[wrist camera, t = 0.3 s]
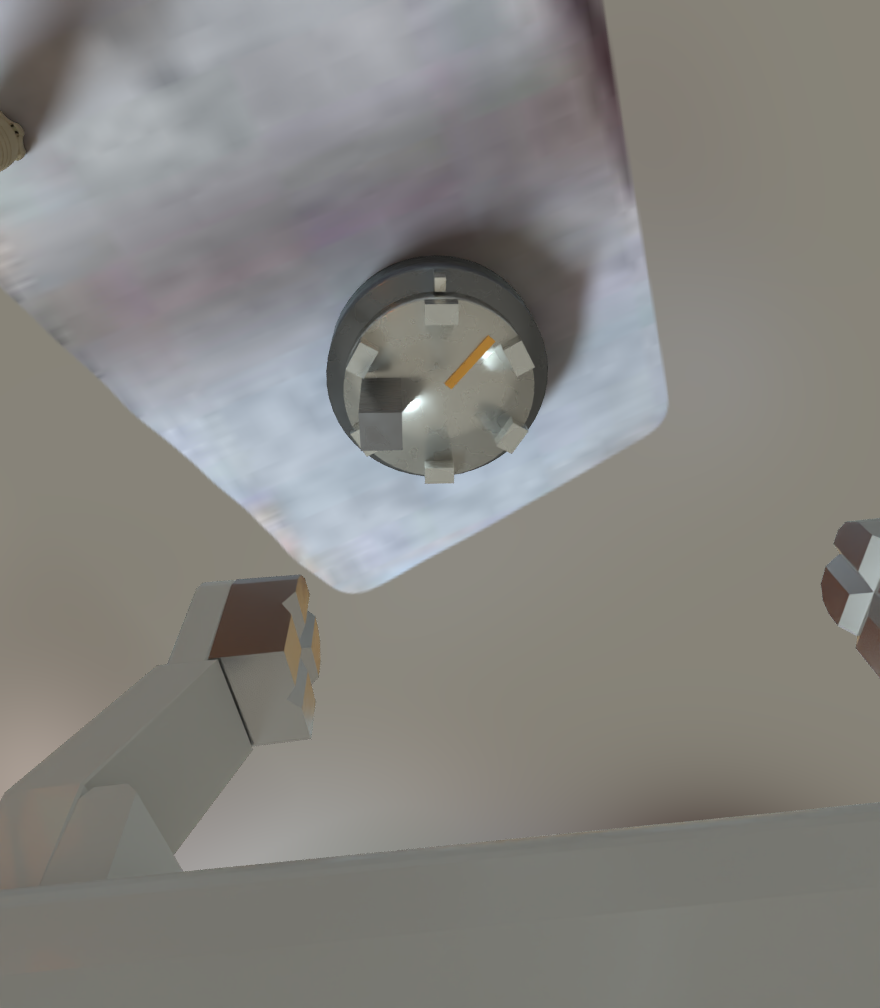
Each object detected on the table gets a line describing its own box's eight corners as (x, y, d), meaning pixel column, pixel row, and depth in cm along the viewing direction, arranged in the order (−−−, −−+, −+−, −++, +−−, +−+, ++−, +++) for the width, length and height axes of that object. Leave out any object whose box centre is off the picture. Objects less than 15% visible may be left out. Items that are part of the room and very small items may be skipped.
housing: (321, 255, 50) (313, 275, 46) (549, 255, 51) (564, 274, 47) (338, 455, 60) (334, 487, 56) (528, 452, 61) (539, 483, 57)
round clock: (338, 291, 48) (329, 328, 41) (538, 290, 49) (561, 326, 42) (351, 465, 56) (345, 519, 50) (521, 462, 57) (538, 514, 50)
